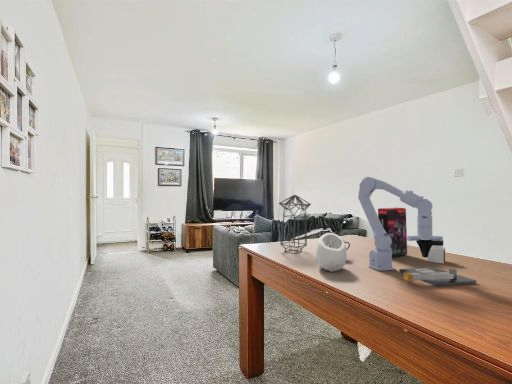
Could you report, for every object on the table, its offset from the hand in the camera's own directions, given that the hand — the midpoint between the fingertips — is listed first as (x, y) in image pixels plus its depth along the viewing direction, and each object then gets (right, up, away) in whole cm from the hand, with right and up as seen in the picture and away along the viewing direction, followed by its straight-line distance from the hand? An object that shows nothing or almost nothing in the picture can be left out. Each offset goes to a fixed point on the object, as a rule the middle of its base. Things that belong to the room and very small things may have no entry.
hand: (424, 257), depth 126 cm
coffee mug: (-29, -8, +30) cm, 43 cm away
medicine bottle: (+20, -8, +23) cm, 31 cm away
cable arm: (-6, -6, -14) cm, 17 cm away
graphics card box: (+3, -8, +37) cm, 38 cm away
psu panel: (+1, -7, -5) cm, 9 cm away
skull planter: (-39, -8, +9) cm, 41 cm away
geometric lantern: (-51, -8, +47) cm, 70 cm away
